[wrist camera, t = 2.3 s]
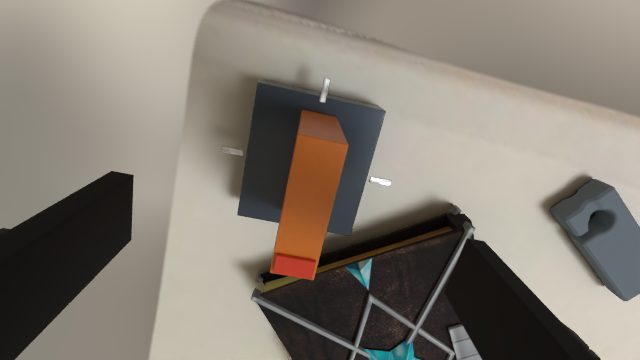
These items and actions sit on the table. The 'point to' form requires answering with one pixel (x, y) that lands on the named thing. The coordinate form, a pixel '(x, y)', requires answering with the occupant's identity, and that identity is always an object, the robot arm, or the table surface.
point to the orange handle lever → (309, 195)
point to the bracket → (604, 235)
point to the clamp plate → (279, 141)
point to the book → (375, 298)
